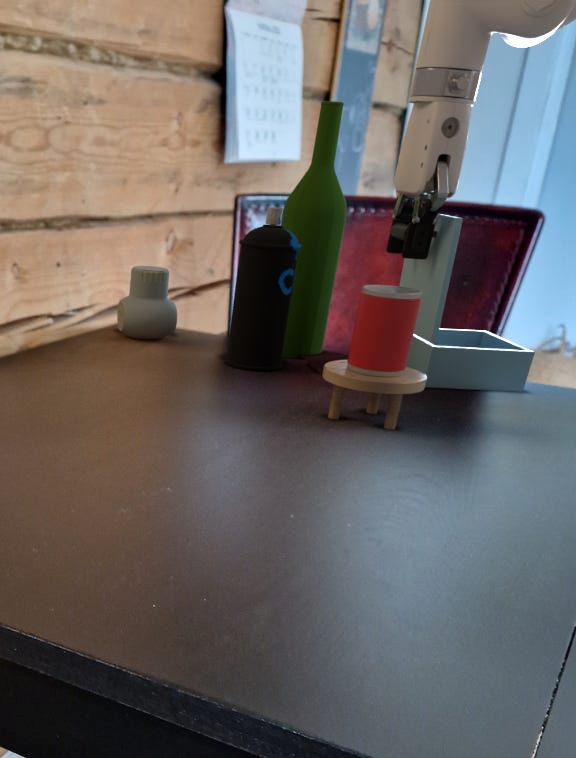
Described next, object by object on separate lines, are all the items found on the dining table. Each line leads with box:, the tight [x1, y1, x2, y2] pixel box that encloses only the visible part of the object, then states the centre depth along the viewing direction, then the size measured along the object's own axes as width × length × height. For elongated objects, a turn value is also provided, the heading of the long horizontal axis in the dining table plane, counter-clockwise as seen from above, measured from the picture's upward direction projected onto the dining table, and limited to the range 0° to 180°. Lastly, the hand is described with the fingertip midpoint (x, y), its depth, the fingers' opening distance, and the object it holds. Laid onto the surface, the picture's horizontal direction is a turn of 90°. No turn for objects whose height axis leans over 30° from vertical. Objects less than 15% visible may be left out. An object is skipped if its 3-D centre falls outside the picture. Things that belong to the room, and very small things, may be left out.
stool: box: [321, 359, 427, 430], centre depth 95 cm, size 11×11×6 cm
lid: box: [390, 213, 464, 343], centre depth 112 cm, size 14×15×5 cm
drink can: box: [347, 284, 422, 377], centre depth 92 cm, size 6×6×8 cm
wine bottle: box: [280, 100, 348, 360], centre depth 123 cm, size 9×9×32 cm
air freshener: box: [116, 265, 178, 340], centre depth 133 cm, size 11×8×10 cm
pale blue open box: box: [406, 327, 536, 393], centre depth 118 cm, size 14×15×6 cm
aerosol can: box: [224, 206, 301, 372], centre depth 117 cm, size 8×8×20 cm
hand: (406, 254), depth 111 cm, fingers closed on lid, 5 cm apart
